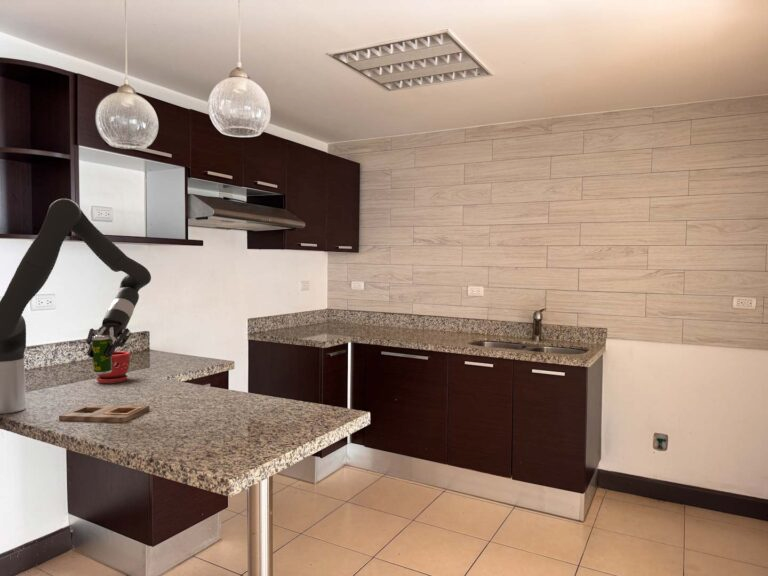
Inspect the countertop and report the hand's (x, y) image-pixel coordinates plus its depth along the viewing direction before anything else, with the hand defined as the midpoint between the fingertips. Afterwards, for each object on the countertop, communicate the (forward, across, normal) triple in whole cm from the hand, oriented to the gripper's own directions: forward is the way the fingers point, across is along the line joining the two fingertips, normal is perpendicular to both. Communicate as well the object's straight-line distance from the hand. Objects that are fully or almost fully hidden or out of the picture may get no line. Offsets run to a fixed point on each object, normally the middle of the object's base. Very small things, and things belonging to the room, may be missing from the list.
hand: (98, 356), depth 176 cm
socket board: (+13, +1, +14) cm, 20 cm away
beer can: (+3, 0, +6) cm, 6 cm away
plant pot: (-21, -28, +49) cm, 60 cm away
